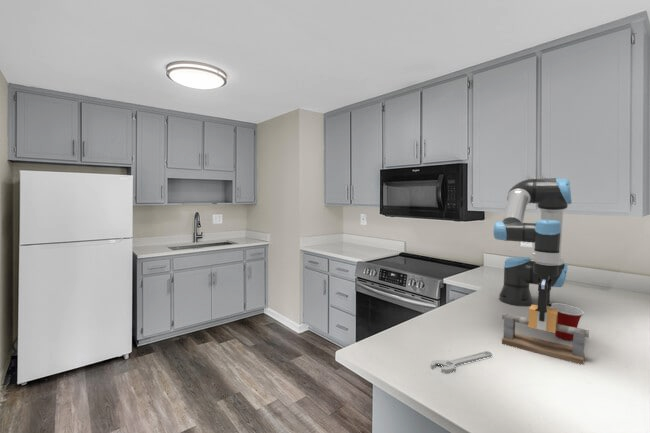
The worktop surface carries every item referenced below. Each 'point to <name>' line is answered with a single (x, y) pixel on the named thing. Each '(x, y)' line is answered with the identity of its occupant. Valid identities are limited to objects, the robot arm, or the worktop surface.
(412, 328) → the worktop surface
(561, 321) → the plastic cup
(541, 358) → the worktop surface
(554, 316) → the block
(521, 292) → the robot arm
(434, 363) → the adjustable wrench
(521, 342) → the frame
